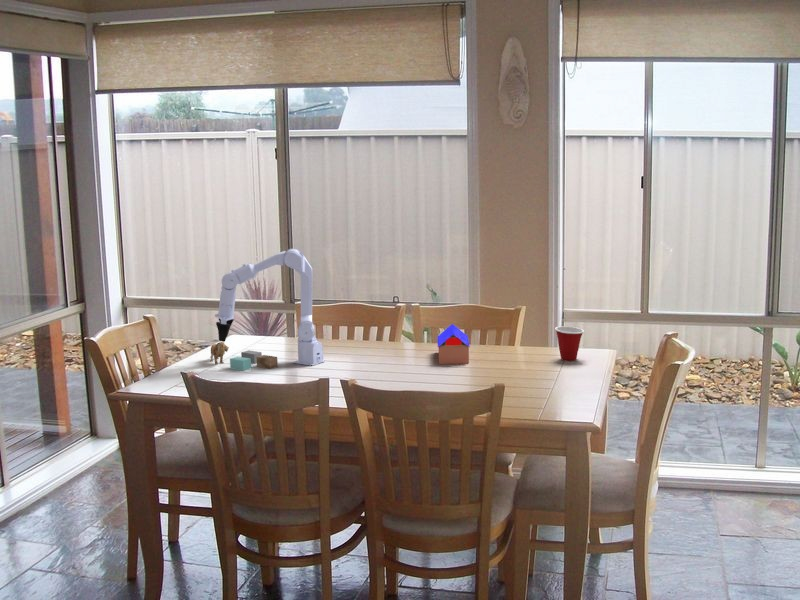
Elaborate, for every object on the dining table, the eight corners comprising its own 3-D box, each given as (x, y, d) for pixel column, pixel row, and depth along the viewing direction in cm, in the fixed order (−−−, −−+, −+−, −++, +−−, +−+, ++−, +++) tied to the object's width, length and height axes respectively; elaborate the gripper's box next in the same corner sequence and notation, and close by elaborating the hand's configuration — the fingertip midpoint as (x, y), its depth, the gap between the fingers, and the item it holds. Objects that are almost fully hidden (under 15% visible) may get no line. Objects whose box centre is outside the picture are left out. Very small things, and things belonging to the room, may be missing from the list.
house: (438, 364, 337) (437, 334, 336) (437, 352, 357) (437, 324, 355) (469, 364, 337) (469, 333, 335) (467, 352, 357) (467, 323, 355)
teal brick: (251, 368, 338) (250, 358, 337) (243, 371, 334) (243, 360, 334) (238, 366, 342) (237, 356, 341) (230, 368, 338) (229, 358, 338)
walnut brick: (277, 367, 339) (277, 356, 339) (270, 369, 336) (270, 359, 336) (264, 365, 343) (263, 354, 343) (256, 367, 340) (256, 357, 339)
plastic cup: (581, 363, 333) (582, 331, 331) (552, 361, 336) (552, 330, 334) (585, 356, 343) (585, 326, 341) (557, 355, 346) (557, 325, 344)
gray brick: (262, 362, 348) (261, 352, 347) (254, 364, 345) (254, 354, 344) (248, 360, 352) (248, 350, 351) (241, 362, 349) (241, 352, 348)
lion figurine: (231, 364, 345) (229, 341, 343) (218, 366, 342) (216, 343, 340) (216, 357, 357) (215, 335, 355) (203, 359, 354) (202, 337, 352)
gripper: (218, 299, 345) (214, 334, 347) (214, 306, 331) (210, 341, 333) (236, 302, 346) (232, 336, 348) (233, 308, 332) (229, 344, 334)
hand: (223, 339), depth 341 cm, fingers open, 7 cm apart
